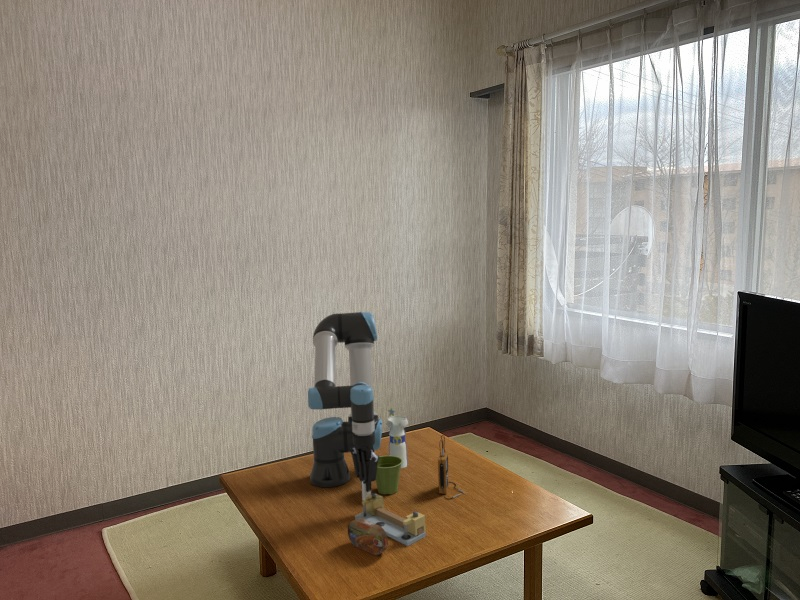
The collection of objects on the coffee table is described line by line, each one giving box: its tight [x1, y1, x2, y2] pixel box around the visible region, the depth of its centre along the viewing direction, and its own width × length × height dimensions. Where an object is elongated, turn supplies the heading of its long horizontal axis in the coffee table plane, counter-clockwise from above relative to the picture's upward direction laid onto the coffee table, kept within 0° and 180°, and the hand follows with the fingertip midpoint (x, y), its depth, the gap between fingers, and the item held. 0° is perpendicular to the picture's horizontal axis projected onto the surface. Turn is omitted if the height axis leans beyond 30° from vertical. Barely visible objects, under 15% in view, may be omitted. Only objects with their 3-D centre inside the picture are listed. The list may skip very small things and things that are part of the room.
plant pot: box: [375, 455, 403, 495], centre depth 226 cm, size 12×12×11 cm
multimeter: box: [437, 434, 467, 500], centre depth 223 cm, size 15×10×20 cm
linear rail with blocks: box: [354, 507, 427, 547], centre depth 199 cm, size 25×8×8 cm, turn 44°
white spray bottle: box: [386, 407, 409, 469], centre depth 248 cm, size 8×9×25 cm
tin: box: [347, 518, 389, 556], centre depth 186 cm, size 15×3×8 cm, turn 48°
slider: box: [361, 492, 385, 517], centre depth 206 cm, size 4×7×6 cm, turn 133°
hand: (366, 499), depth 210 cm, fingers closed
